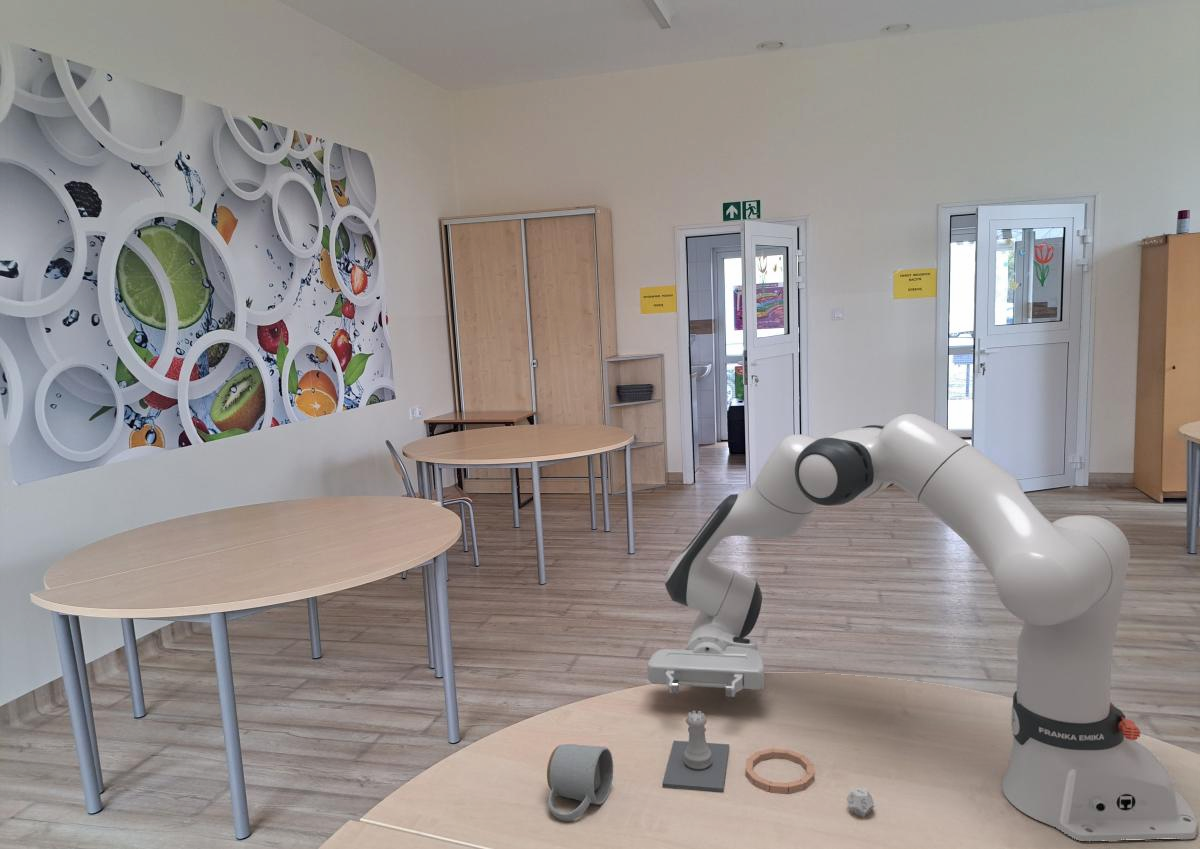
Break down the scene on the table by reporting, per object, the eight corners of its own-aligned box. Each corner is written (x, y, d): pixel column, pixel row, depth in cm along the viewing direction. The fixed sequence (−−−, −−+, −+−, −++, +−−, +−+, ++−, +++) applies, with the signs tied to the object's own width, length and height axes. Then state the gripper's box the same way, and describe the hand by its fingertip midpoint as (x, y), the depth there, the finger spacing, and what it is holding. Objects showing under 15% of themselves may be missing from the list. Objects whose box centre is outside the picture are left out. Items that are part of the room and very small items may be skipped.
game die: (864, 823, 109) (864, 803, 108) (841, 810, 112) (841, 791, 111) (879, 812, 111) (879, 792, 110) (856, 800, 114) (856, 781, 113)
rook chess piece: (711, 754, 126) (709, 706, 125) (714, 770, 122) (712, 721, 121) (682, 755, 126) (680, 708, 125) (684, 771, 122) (682, 722, 121)
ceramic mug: (566, 775, 124) (562, 730, 123) (615, 784, 121) (612, 737, 119) (536, 818, 114) (531, 769, 113) (588, 829, 111) (585, 779, 110)
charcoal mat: (729, 747, 129) (729, 744, 129) (723, 792, 117) (723, 788, 117) (673, 743, 131) (673, 740, 131) (662, 787, 119) (662, 783, 119)
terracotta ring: (812, 757, 125) (812, 751, 125) (814, 795, 115) (814, 789, 115) (747, 752, 127) (747, 746, 127) (744, 789, 117) (744, 783, 117)
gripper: (652, 636, 148) (639, 669, 135) (765, 640, 143) (762, 676, 130) (654, 668, 149) (640, 704, 136) (766, 674, 144) (763, 712, 131)
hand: (701, 690), depth 133 cm, fingers open, 8 cm apart
